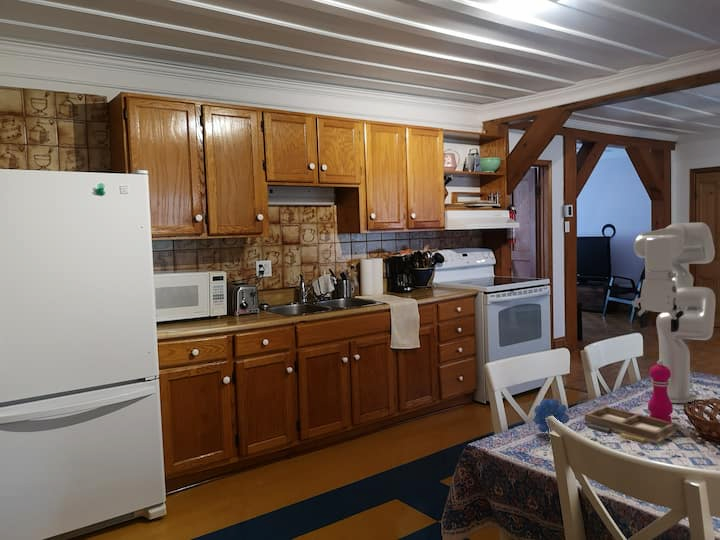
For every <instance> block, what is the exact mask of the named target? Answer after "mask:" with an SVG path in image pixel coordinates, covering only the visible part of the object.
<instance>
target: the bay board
mask: <svg viewBox="0 0 720 540" xmlns="http://www.w3.org/2000/svg"><path fill="white" fill-rule="evenodd" d="M584 424H586V427H587V428H589V429H592V430H593V429H594V430H596V431H599V432H603V433H606V434H609V433H611V432H614V433H617V432H618V433H617V434H619V437H620V438H623V439H628V440H630V441H634V442H637V443H640V444H644V443H645V444H646V442H649V443H653V444H657V443H660V442H662V441H664V440H665V439H667V438H670V437H671V436H673V435H675V434H677V423H675V422H672V421H671V422H668V421H664V420H660V419H656V418H652V417H649V416H646V415H643V414H639V413H635V412H631V411H627V410H622V409H619V408H615V407H610V406H607V405H605V406H602V407H599V408H597V409H595V410H592V411H590V412H589V411H588V412H587V413H584Z"/></svg>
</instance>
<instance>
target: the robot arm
mask: <svg viewBox="0 0 720 540" xmlns="http://www.w3.org/2000/svg"><path fill="white" fill-rule="evenodd" d="M715 249H716V248H715V244H714V240H713V235H712V232H711V228H710V227H709V225H707V224H706V222H701V221H700V222H677V223H676V222H675V223H671V224H670V225H668V226H666V227H665V228H660V229H657V230H652V231H651V230H650V231H646V232H642V233H639V234H638V236H636V237H635V240H634V243H633V251H634V254H635V255H636V257H638V258H640V259H644V276H645V277H644V279H643V280H642V286H641V290H640V297H638V298H636V299H634V300H632V301H631V302H630V303H631V305H632V307H633V310H634V311H635V312H636V313H637V316H639V317H638V318H639V325H640V329H644V328H645V329H646V328H647V327H648V322H649V321H648V314H647V313H648V312H655V313H656V312H657V313H659V314H658V315H657V317H656V318H655V319H656V320H655V321H656V323H655V325H656V331H657V337H658V346H659V347H658V349H659V350H658V352H659V354H658V355H659V356H658V357H659V359H658V361H659V360H661V361H662V362H663V365H664V366H666V367H668V368H669V370H670V372H671V376H670V378H669V379H668V381H669V386H667V394H668V397H669V399H670V401H671V403H672V404H689V403H688V402H691V403H692V401H693V402H694V401H696V398H695V397H696V396H694V395H693V394H692V393H691V391H690V390H692V389H693V388H694V386H693V384H692V383H691V380H690V375H691V374H690V373H691V372H690V370H691V369H690V366H691V365H690V364H691V363H690V362H691V361H690V360H691V359H690V357H691V356H690V355H691V354H690V350H689V347H688V345H687V344H686V343H685V342H684V340H696V341H708V340H709V339H711V338H712V336H713V332H714V327H715V312H716V295H715V292H714V291H713V290H712V289H711V288H710V287H706V286H694V276H693V274H692V273H690V271H689V270H688V269H687V268H686V267H684V266H683V265H685V264H686V265H688V264H691V265H693V264H694V265H696V264H697V265H699V264H701V265H704V264H705V265H706V264H710V263H712V261H714V258H715V254H716V250H715ZM682 264H683V265H682ZM639 303H640V305H639Z"/></svg>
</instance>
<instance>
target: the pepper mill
mask: <svg viewBox="0 0 720 540" xmlns="http://www.w3.org/2000/svg"><path fill="white" fill-rule="evenodd" d="M649 376H650V377H651V378H652V379H651V381H650V382H651V385H652V389H653V390H652V394H651V397H650V399H649V401H648V404H647V410H648V411H649V413H650V414H649V416H648V417H652V418H656V419H660V420H664V421H668V422H672V416H671V415H672V414H673V413H674V407H673V403H671V401H670V399H669V397H668V394H667V386H669V381H668V379H669V378H670V376H671V372H670V370H669V368H668V367H666V366H664V365H663V362H662V361H661V360H659V359H658V360H657V361H656V364H655V365H653V366H651V367H650V369H649Z"/></svg>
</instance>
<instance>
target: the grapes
mask: <svg viewBox="0 0 720 540" xmlns="http://www.w3.org/2000/svg"><path fill="white" fill-rule="evenodd" d="M533 412H534V414H535V416H534V417H533V422H534V423H535V425H538V431H540V432H541V433H543V432H544V433H547V434H548V433H549V427H548V425H547V422H546V421H545V420H546V419H545V418H547V417H548V416H551V415H553V416H554V417H555V418H556V419H557V420H559V421H560V422H562V423H563V424H564V425H565V426H566V424H567V423H568V422H569V421H570V416H569V415H568V414H567V413H566V412H567V406H566V405H565V404H563V403H560V402H559V400H558V399H557V398H555V397H553V398H551V399H550V400H549V399H548V398H543V399H541V400H540V403H539V405H538V404H537V405H536V406H535V407H534V410H533Z"/></svg>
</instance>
